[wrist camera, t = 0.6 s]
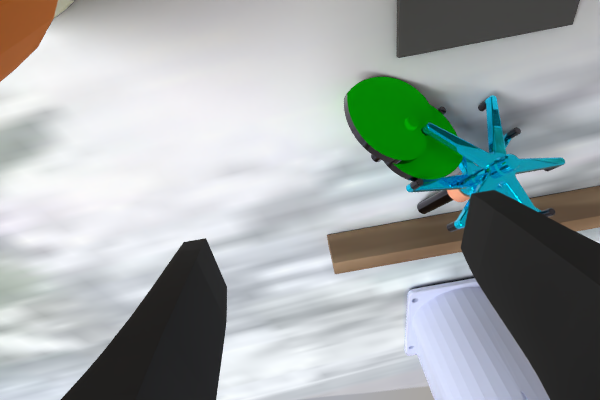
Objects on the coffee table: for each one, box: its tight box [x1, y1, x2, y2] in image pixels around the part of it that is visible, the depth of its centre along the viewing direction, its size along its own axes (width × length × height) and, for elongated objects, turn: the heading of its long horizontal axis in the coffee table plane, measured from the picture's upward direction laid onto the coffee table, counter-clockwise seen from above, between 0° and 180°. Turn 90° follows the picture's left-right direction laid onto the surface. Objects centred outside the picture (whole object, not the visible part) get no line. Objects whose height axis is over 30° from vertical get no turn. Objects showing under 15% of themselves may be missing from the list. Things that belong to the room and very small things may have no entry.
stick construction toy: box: [344, 77, 565, 232], centre depth 18 cm, size 12×7×8 cm
